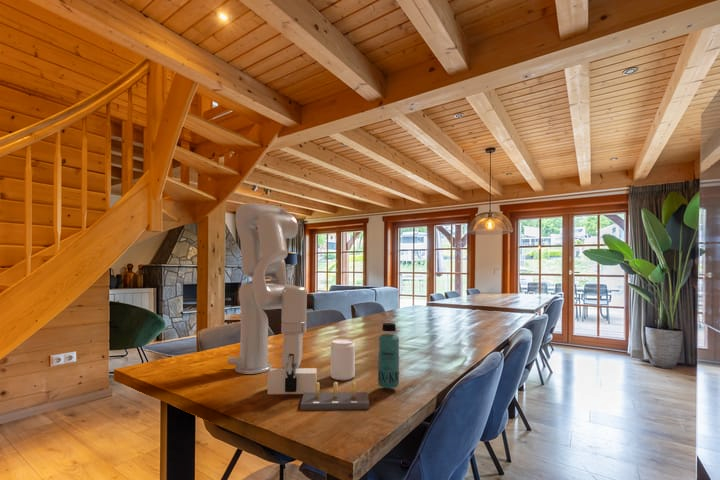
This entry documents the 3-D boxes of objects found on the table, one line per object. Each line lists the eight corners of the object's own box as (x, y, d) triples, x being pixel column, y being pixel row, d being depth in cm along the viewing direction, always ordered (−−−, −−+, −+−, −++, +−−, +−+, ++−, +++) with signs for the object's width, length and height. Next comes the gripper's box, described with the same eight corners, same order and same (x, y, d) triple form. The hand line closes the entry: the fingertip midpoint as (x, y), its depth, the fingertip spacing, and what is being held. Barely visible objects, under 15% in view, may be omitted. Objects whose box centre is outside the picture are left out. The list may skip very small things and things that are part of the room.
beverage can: (357, 375, 121) (358, 339, 122) (349, 382, 114) (349, 344, 114) (336, 372, 124) (336, 337, 125) (326, 379, 116) (327, 342, 117)
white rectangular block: (267, 394, 103) (267, 373, 104) (270, 388, 108) (271, 368, 109) (315, 394, 104) (315, 373, 104) (316, 388, 109) (316, 368, 109)
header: (300, 409, 92) (300, 388, 93) (303, 398, 100) (304, 378, 101) (369, 408, 93) (369, 387, 94) (367, 397, 101) (367, 377, 102)
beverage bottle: (376, 386, 111) (376, 321, 112) (397, 385, 111) (397, 321, 112) (379, 394, 104) (379, 325, 105) (401, 393, 105) (401, 325, 106)
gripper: (285, 322, 116) (284, 377, 115) (276, 333, 98) (274, 397, 97) (309, 322, 116) (308, 377, 115) (303, 333, 99) (302, 397, 98)
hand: (292, 386), depth 106 cm, fingers open, 8 cm apart
